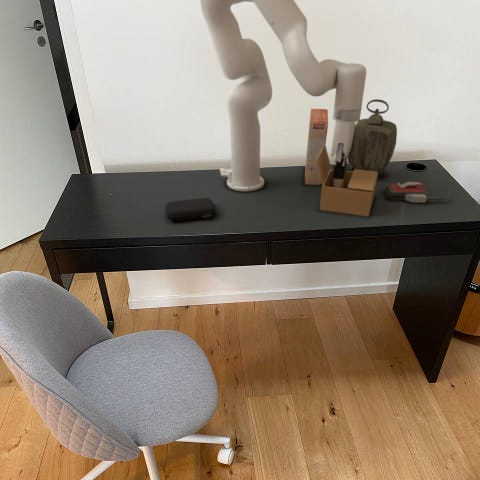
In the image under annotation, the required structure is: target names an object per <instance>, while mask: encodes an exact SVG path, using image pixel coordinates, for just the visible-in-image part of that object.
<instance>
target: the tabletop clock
mask: <svg viewBox="0 0 480 480" xmlns="http://www.w3.org/2000/svg"><path fill="white" fill-rule="evenodd" d="M376 102H377V103H382V104H384V105H385V106H386V110H383V111H380V109H379V108H375V110H373V109H371V108H369V105H370V104H371V103H376ZM366 109H367V111H368V112H370V113H371V115H369V117H368V118H360V120H359V121H358V122H355V128H354V135H353V141H352V146H351V149H350V152H349V154H348V156H347V163H348V164H349V165H350V166H351V171H354V169H357V168H358V169H362V170H365V171H381V175H382V176H386V175H387V171H386V168H387V166H388V165H389V163H390V162H391V160H392V158H393V156H394V153H395V149H396V146H397V138H398V128H397V124H396V123H394V122H393V121H390V120H385V119H384V118H383V116H382V114H385V113H387V112H388V111H389V109H390V106H389V104H388V103H387V101H385V100H383V99H372V100H369V101H368V102H367V104H366Z"/></svg>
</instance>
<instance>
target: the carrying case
mask: <svg viewBox="0 0 480 480" xmlns="http://www.w3.org/2000/svg"><path fill="white" fill-rule="evenodd" d="M164 209H165V212H166V216H167V219H168V220H170V221H172V222H182V221H190V220H198V219H207V218H211V217H214V216H215V215H216V214H217V208H216V206H215V204H214V201H213V200H212V199H211V198H209V197H200V198H191V199H184V200H183V199H182V200H181V199H180V200H173V201H169V202H167V203H166V205H165V206H164Z"/></svg>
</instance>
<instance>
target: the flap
mask: <svg viewBox="0 0 480 480" xmlns="http://www.w3.org/2000/svg"><path fill="white" fill-rule="evenodd" d="M326 145H327V144H326ZM326 145H324V146H323V148H322V150H321V151H320V153H319V155H318V157H317V159H316V161H315V162H316V166H317V169H318V173H319V177H320V181H321V185H323V183H324V181H325V179H326V177H327V175H328V173H329V170H330V169H331V168H332V166H331V161H330V158H329V154H328V149H327V146H326Z"/></svg>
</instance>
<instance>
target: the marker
mask: <svg viewBox="0 0 480 480" xmlns="http://www.w3.org/2000/svg"><path fill="white" fill-rule="evenodd" d="M346 159H347V160H348V157H347V158H345V165H344V166H345V167H346ZM342 160H343V158H342ZM346 168H347V167H346ZM343 181H344V179H343V180H342V179H334V184H333V187H334V188H342V189H343Z"/></svg>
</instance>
